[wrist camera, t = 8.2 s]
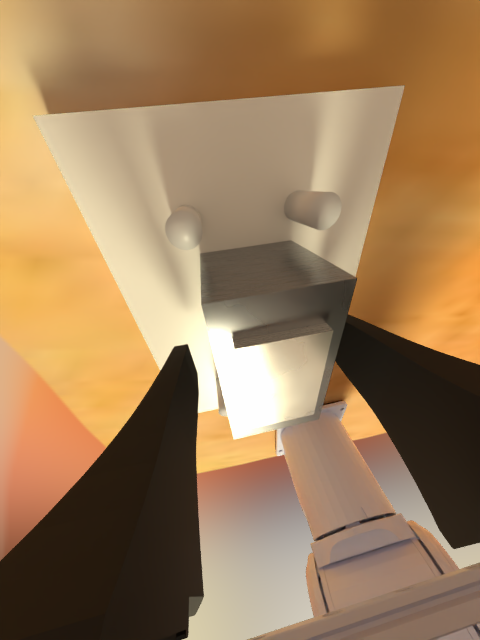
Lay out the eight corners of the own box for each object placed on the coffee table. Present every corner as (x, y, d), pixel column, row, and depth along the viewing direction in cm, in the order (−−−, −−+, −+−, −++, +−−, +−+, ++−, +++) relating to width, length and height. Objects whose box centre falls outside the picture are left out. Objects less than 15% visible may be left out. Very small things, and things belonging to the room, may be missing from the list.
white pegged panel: (321, 375, 18) (344, 409, 16) (183, 405, 17) (181, 448, 14) (384, 95, 8) (484, 46, 5) (51, 123, 7) (-50, 80, 4)
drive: (284, 353, 14) (322, 426, 10) (223, 366, 14) (235, 448, 10) (291, 240, 10) (367, 283, 5) (199, 253, 9) (201, 312, 5)
